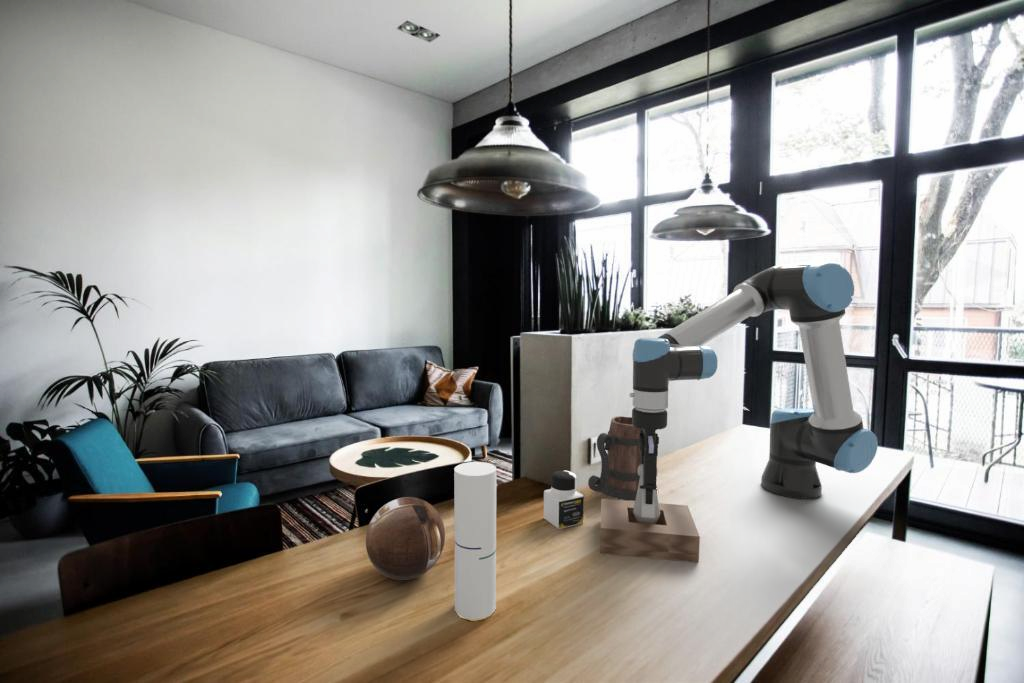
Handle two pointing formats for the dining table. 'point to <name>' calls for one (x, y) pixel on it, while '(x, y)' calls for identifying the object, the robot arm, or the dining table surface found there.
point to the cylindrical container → (475, 539)
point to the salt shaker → (638, 503)
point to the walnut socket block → (648, 532)
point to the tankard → (618, 460)
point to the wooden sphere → (405, 538)
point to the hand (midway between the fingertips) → (646, 510)
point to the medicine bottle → (563, 501)
